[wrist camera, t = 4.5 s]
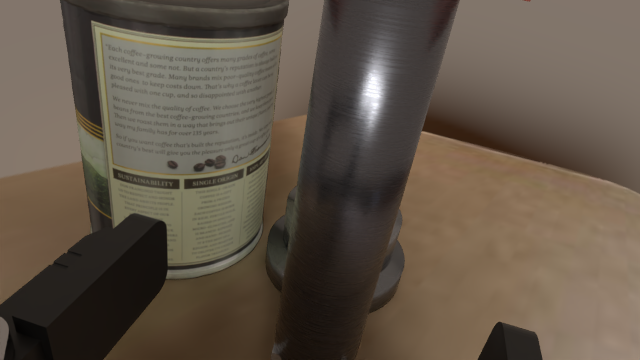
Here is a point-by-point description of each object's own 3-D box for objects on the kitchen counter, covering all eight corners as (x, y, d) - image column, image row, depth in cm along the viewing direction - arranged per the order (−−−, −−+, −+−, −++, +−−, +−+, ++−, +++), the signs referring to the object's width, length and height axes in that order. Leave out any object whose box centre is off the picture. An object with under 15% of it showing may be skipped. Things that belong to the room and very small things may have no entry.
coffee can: (47, 232, 26) (-5, -38, 19) (174, 165, 34) (171, -39, 27) (191, 311, 22) (193, 19, 15) (292, 216, 31) (325, -2, 24)
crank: (311, 160, 34) (352, -89, 26) (395, 178, 34) (463, -70, 25) (219, 389, 17) (251, -126, 9) (385, 431, 17) (581, -69, 8)
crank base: (283, 214, 31) (285, 195, 30) (399, 239, 30) (404, 221, 29) (247, 296, 24) (250, 275, 23) (397, 332, 23) (404, 311, 22)
